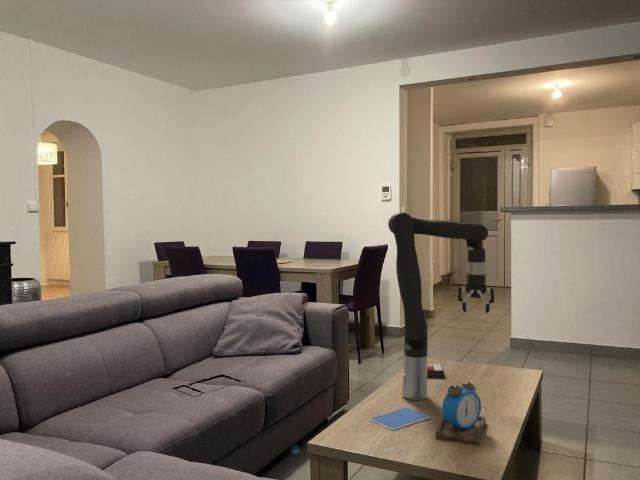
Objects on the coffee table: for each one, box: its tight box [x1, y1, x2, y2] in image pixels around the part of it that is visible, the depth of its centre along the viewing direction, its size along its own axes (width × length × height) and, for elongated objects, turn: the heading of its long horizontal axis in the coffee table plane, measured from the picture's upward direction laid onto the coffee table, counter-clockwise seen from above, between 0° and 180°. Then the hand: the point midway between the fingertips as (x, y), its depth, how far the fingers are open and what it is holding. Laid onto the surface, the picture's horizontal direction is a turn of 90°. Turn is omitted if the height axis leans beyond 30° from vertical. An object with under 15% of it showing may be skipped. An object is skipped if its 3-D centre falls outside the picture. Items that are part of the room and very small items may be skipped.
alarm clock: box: [441, 381, 482, 431], centre depth 183 cm, size 13×6×15 cm, turn 122°
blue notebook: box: [369, 407, 431, 432], centre depth 193 cm, size 19×13×1 cm, turn 126°
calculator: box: [427, 363, 445, 379], centre depth 248 cm, size 11×4×15 cm
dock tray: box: [434, 415, 486, 446], centre depth 183 cm, size 14×20×2 cm
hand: (475, 312), depth 218 cm, fingers open, 8 cm apart
